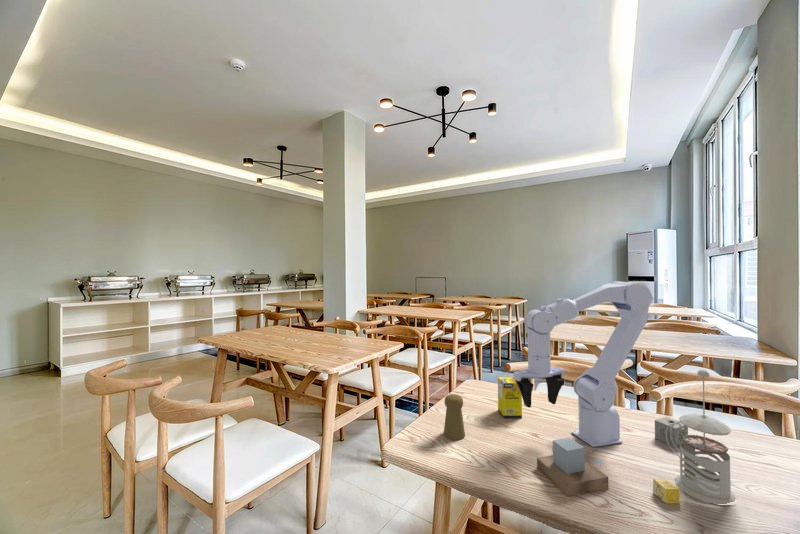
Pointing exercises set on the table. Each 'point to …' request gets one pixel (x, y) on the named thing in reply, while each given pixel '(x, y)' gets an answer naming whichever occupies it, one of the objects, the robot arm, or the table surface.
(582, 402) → the robot arm
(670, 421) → the dice cube
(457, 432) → the olive pawn
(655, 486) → the alphabet block
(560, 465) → the slate block
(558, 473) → the walnut block
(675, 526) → the table surface
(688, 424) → the french press
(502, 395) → the supplement box
